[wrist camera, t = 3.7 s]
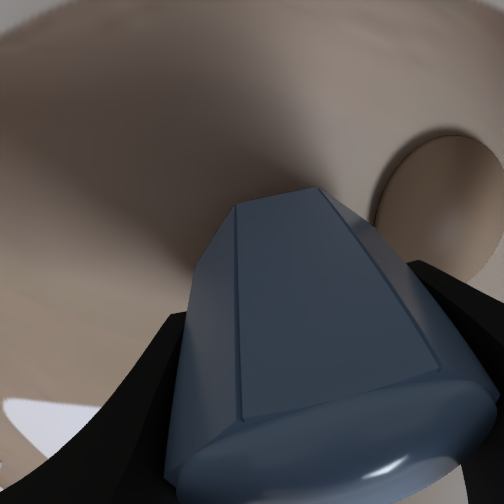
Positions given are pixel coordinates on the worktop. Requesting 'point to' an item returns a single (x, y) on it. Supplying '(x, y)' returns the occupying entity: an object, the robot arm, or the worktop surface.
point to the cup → (317, 366)
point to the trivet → (445, 206)
